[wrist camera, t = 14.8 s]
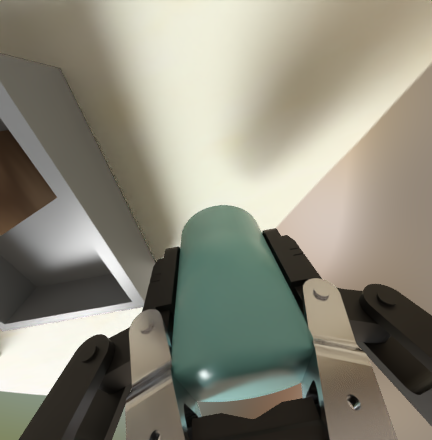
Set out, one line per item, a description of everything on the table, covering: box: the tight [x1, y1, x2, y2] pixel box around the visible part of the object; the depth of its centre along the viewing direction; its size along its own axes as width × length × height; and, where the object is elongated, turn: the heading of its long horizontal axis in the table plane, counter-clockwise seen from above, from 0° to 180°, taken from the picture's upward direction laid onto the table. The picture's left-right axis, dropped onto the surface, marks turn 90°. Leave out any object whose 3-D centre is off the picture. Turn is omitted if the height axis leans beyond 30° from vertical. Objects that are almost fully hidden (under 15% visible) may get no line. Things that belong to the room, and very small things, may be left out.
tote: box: [0, 53, 156, 331], centre depth 14 cm, size 18×14×5 cm
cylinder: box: [171, 205, 314, 402], centre depth 9 cm, size 5×5×7 cm
